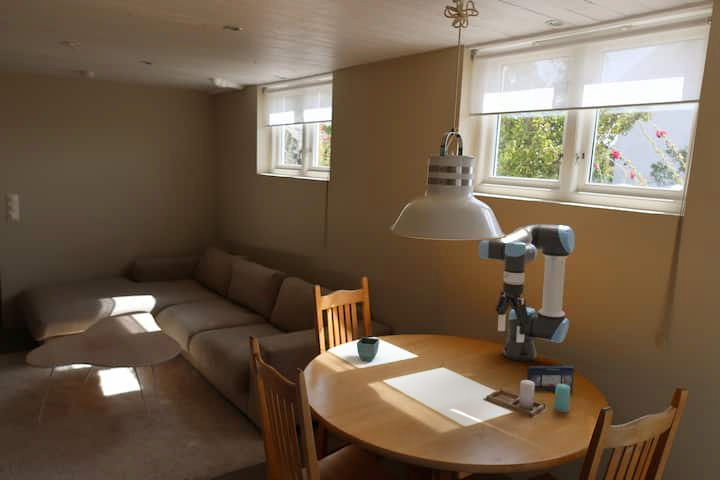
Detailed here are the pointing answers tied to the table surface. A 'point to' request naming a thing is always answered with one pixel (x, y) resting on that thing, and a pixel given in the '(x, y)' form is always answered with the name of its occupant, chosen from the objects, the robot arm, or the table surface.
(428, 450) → the table surface
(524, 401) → the white cylinder
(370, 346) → the flower pot
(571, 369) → the vhs cassette tape
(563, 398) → the teal rounded cylinder
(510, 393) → the rack
